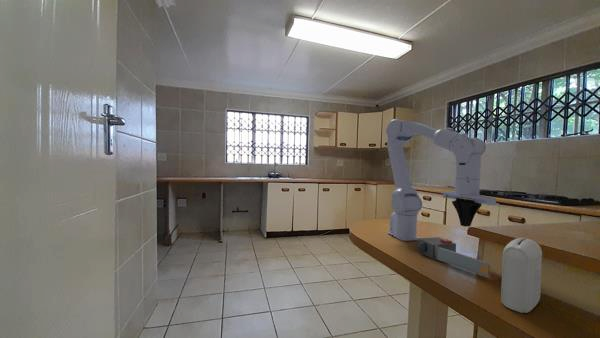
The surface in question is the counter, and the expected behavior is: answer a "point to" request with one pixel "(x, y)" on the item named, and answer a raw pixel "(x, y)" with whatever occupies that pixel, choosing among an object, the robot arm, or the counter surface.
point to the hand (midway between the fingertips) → (465, 225)
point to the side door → (462, 261)
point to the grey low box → (428, 245)
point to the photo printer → (521, 275)
